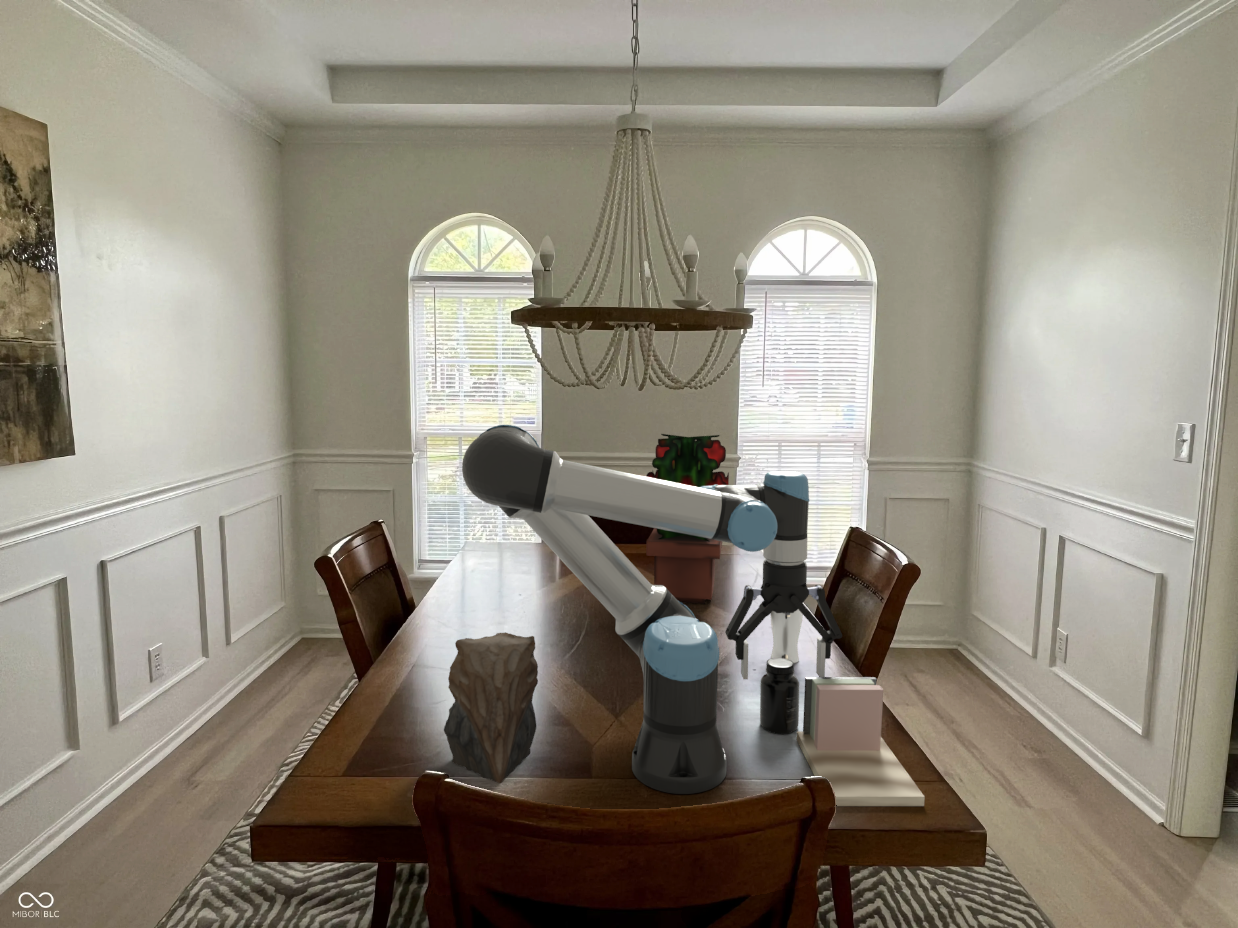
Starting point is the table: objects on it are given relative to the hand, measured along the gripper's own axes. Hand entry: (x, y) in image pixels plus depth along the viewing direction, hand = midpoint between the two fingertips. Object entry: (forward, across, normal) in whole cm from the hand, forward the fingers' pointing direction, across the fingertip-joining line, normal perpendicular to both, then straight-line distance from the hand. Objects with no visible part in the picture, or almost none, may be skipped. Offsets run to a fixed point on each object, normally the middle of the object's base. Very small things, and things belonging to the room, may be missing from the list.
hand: (782, 675), depth 135 cm
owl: (+9, +50, +12) cm, 52 cm away
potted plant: (+10, +10, -77) cm, 79 cm away
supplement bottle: (+10, 0, 0) cm, 10 cm away
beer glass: (+10, -8, -31) cm, 34 cm away
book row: (+8, -9, +9) cm, 15 cm away
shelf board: (+10, -8, +16) cm, 20 cm away
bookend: (+8, -9, +6) cm, 13 cm away
